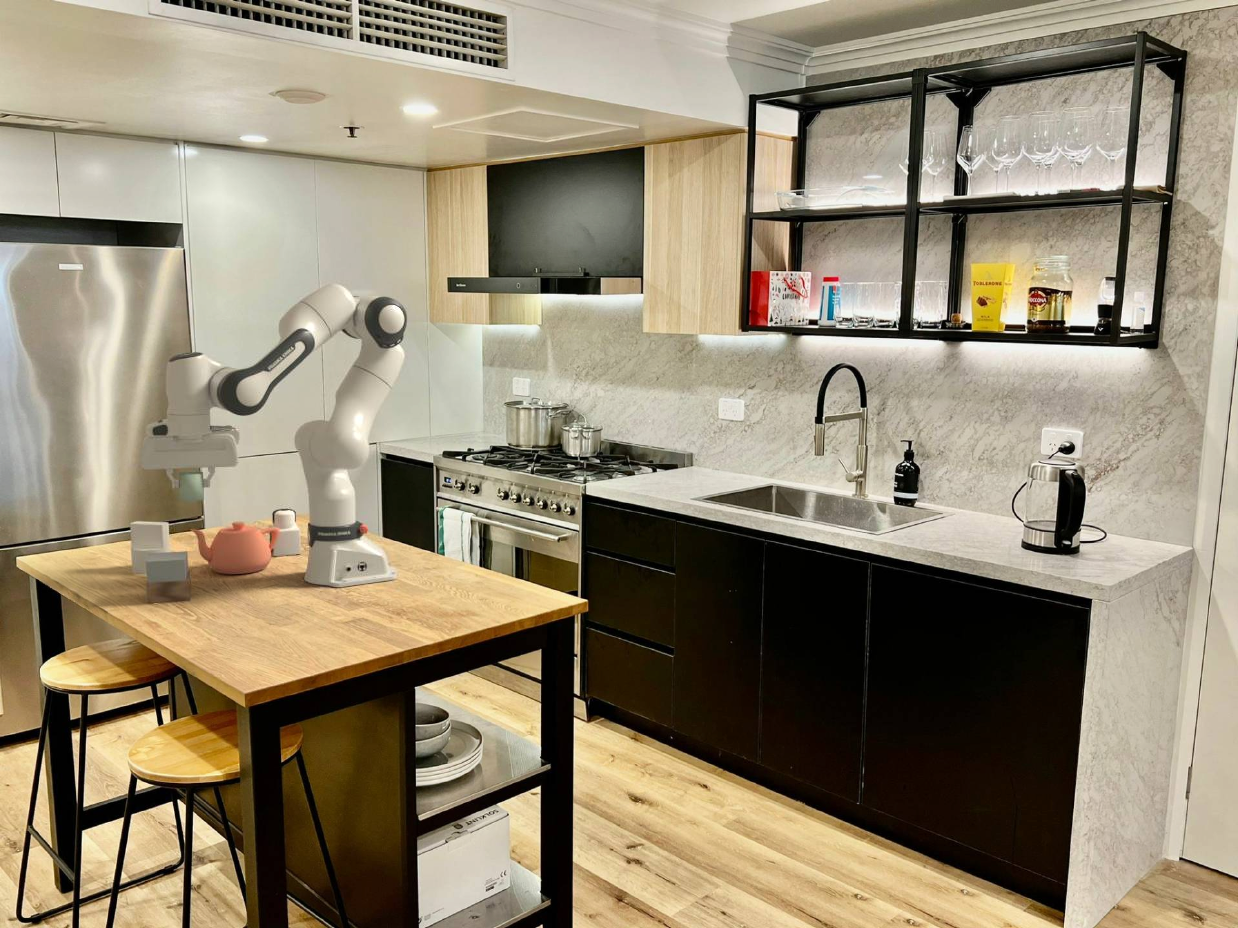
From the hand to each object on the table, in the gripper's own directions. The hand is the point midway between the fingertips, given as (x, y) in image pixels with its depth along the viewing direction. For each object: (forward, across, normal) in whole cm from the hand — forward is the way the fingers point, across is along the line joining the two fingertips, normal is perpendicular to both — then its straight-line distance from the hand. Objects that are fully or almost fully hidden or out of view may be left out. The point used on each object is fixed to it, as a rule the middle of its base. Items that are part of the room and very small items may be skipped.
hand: (191, 487), depth 230 cm
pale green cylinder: (+3, 0, 0) cm, 3 cm away
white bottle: (+26, -24, -40) cm, 54 cm away
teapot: (+27, -11, -27) cm, 39 cm away
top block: (+22, +6, -6) cm, 23 cm away
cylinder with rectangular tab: (+27, +9, -34) cm, 44 cm away
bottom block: (+27, +5, -6) cm, 28 cm away
